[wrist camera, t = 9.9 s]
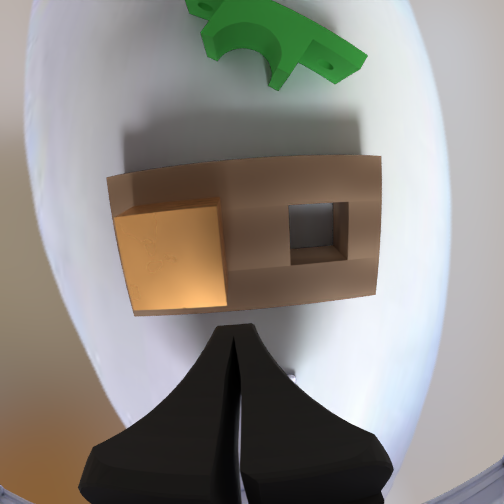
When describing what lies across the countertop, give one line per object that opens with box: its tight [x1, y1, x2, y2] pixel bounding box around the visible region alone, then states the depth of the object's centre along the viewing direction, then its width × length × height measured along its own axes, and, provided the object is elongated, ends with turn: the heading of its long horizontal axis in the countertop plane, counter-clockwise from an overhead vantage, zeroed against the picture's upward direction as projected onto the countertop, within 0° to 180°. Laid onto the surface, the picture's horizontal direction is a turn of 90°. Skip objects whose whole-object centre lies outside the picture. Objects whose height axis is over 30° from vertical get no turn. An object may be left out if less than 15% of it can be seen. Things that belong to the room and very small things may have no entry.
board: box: [107, 155, 382, 316], centre depth 18 cm, size 9×16×3 cm, turn 94°
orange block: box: [114, 197, 228, 310], centre depth 17 cm, size 5×5×6 cm
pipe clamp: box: [185, 0, 368, 91], centre depth 14 cm, size 11×4×5 cm, turn 61°
